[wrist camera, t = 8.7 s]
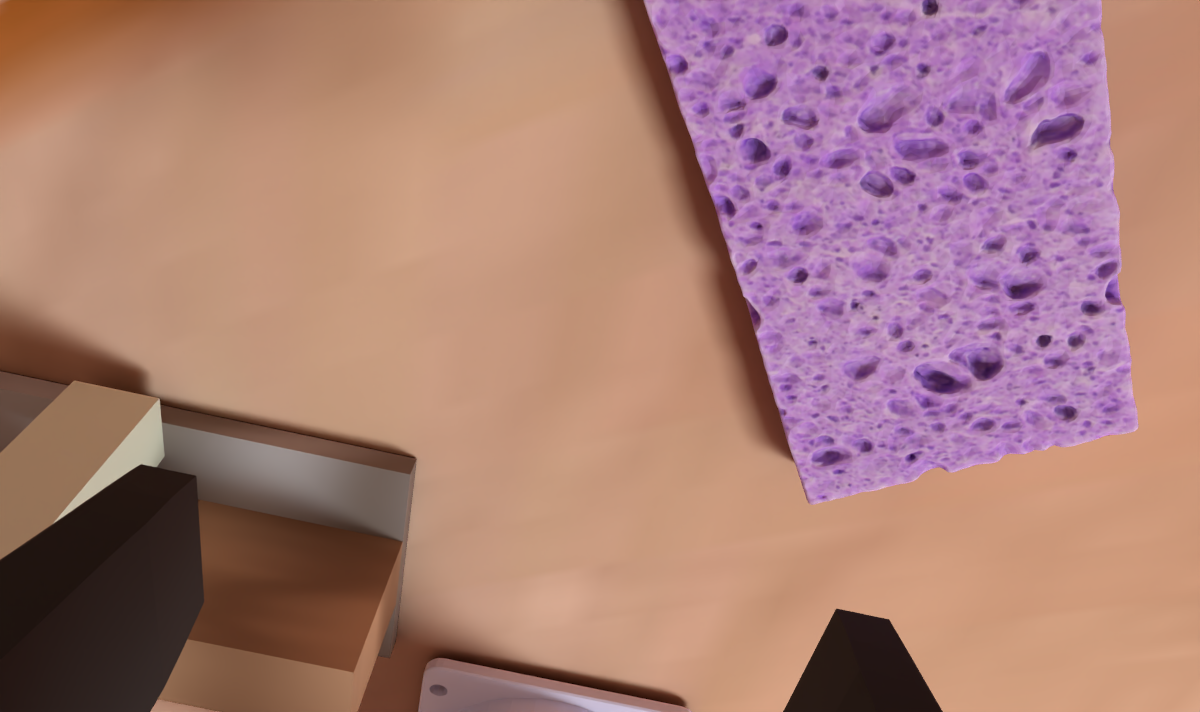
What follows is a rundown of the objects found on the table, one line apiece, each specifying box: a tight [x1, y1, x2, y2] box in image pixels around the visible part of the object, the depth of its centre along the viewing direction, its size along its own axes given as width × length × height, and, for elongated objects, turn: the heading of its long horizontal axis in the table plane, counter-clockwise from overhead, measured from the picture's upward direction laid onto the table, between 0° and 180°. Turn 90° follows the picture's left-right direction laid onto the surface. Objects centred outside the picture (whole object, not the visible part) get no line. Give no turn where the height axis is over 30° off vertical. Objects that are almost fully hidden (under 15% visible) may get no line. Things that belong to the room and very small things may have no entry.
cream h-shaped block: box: [0, 380, 165, 559], centre depth 20 cm, size 8×2×7 cm, turn 169°
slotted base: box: [0, 371, 417, 712], centre depth 22 cm, size 14×7×5 cm, turn 79°
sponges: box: [643, 0, 1138, 505], centre depth 17 cm, size 7×13×2 cm, turn 21°
